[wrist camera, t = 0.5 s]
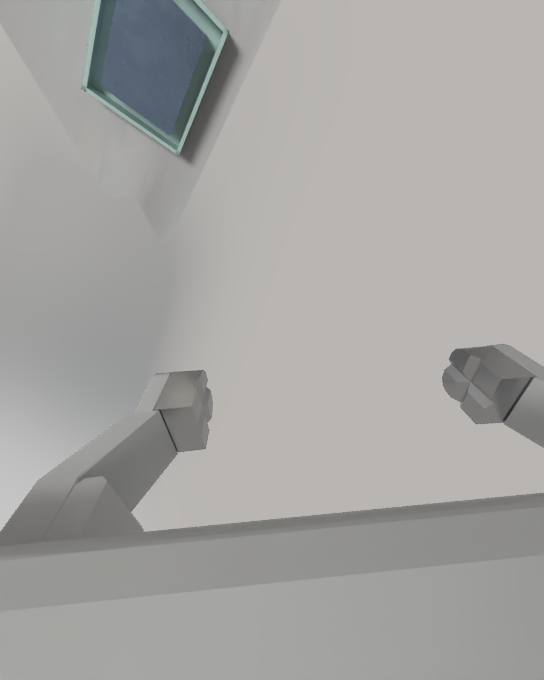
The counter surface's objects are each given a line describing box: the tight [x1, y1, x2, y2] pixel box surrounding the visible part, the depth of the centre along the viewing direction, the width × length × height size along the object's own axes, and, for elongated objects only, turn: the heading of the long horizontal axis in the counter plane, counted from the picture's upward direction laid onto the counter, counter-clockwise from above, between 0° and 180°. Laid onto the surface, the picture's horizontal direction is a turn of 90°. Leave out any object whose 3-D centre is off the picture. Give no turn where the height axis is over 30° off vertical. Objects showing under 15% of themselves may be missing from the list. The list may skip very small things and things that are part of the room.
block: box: [100, 0, 207, 136], centre depth 33 cm, size 9×12×4 cm
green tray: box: [81, 0, 229, 156], centre depth 33 cm, size 13×16×3 cm
